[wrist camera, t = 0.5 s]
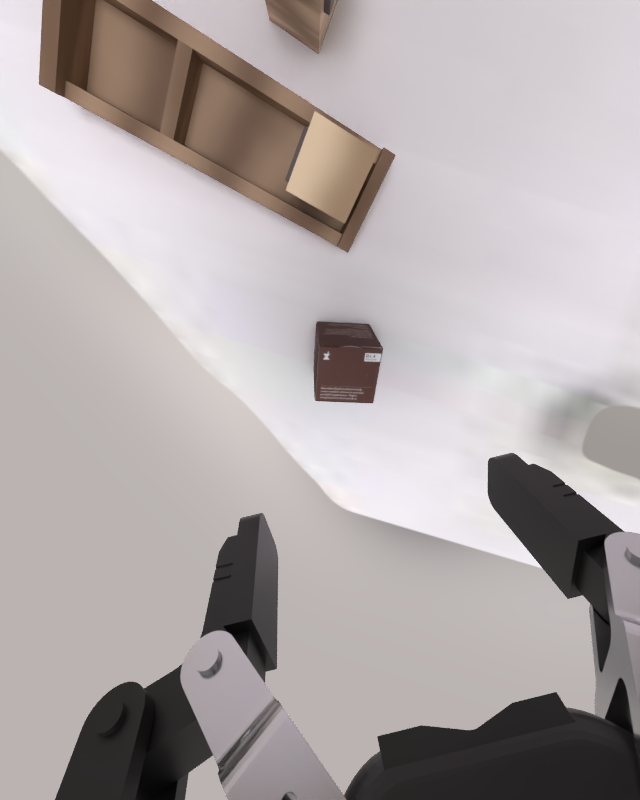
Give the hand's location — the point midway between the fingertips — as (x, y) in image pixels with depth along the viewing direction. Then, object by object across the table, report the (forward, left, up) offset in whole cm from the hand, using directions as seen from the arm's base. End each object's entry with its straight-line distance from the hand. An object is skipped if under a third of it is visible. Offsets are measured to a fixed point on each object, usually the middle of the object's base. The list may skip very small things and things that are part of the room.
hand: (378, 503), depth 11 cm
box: (+5, -2, -27) cm, 28 cm away
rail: (-16, +1, -27) cm, 32 cm away
